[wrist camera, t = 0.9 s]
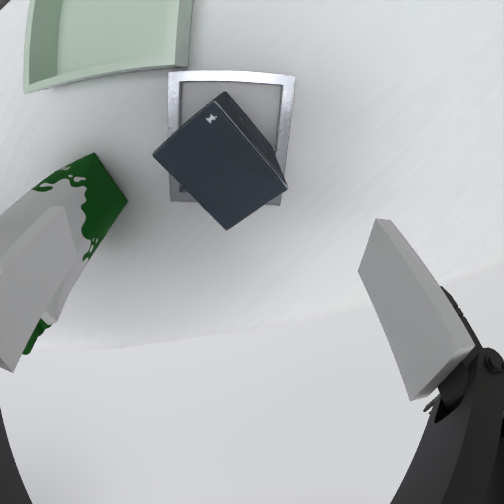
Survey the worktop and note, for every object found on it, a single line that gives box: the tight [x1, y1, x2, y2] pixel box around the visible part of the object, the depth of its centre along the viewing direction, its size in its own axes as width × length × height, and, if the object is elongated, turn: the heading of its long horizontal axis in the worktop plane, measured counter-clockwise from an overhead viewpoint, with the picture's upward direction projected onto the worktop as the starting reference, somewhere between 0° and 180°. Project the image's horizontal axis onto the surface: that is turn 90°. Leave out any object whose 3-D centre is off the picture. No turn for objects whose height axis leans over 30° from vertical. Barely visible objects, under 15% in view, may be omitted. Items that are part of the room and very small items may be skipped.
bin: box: [23, 0, 193, 94], centre depth 14 cm, size 16×16×6 cm
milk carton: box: [0, 153, 128, 355], centre depth 20 cm, size 9×9×20 cm
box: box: [153, 92, 288, 231], centre depth 22 cm, size 8×6×11 cm
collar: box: [168, 71, 295, 206], centre depth 26 cm, size 12×14×1 cm
